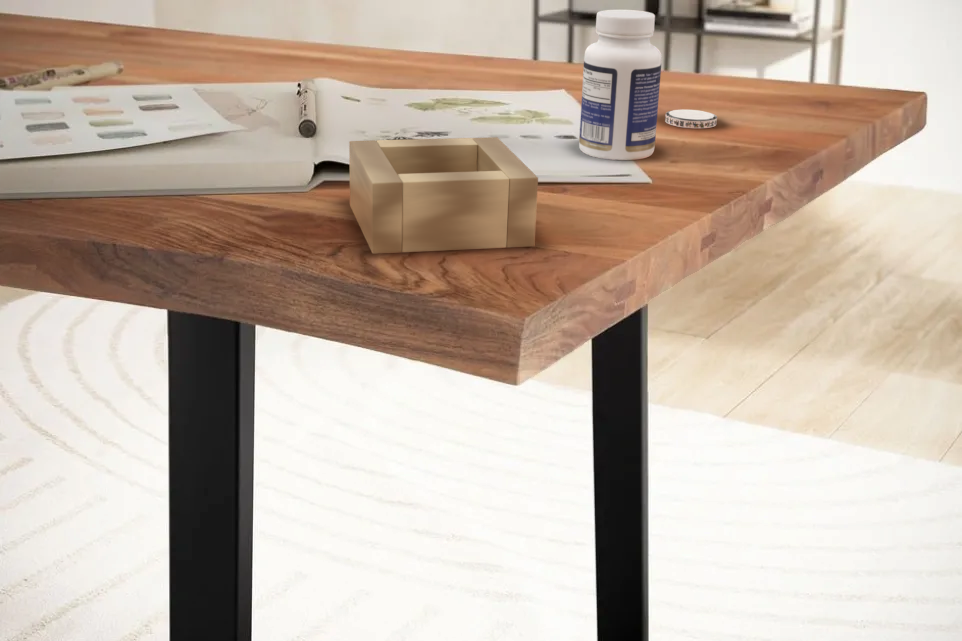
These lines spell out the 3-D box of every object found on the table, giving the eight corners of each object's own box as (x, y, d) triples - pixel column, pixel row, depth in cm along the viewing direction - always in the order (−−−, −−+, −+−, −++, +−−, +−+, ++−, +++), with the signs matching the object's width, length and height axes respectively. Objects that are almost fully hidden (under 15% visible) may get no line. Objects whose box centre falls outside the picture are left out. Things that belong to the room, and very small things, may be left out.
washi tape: (672, 114, 99) (673, 106, 99) (721, 120, 98) (722, 112, 97) (659, 124, 96) (659, 116, 95) (709, 130, 94) (710, 122, 94)
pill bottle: (649, 144, 90) (661, 8, 86) (657, 163, 85) (670, 20, 81) (576, 141, 90) (584, 6, 86) (580, 160, 85) (589, 17, 81)
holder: (372, 255, 65) (372, 182, 64) (349, 206, 74) (349, 140, 72) (534, 247, 67) (538, 177, 66) (495, 200, 76) (497, 137, 74)
